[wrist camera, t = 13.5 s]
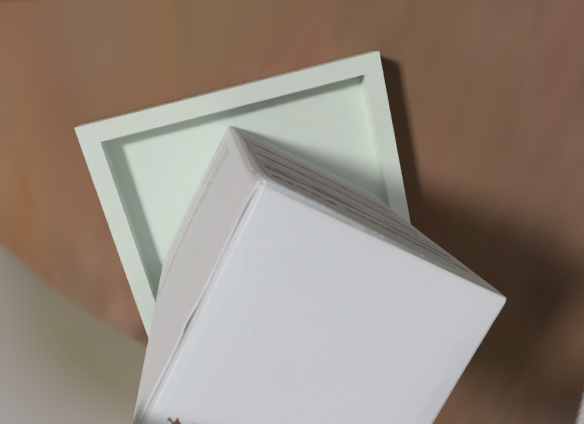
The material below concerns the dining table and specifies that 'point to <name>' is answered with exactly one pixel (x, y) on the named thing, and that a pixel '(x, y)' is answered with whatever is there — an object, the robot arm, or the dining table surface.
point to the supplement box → (304, 303)
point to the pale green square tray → (207, 135)
